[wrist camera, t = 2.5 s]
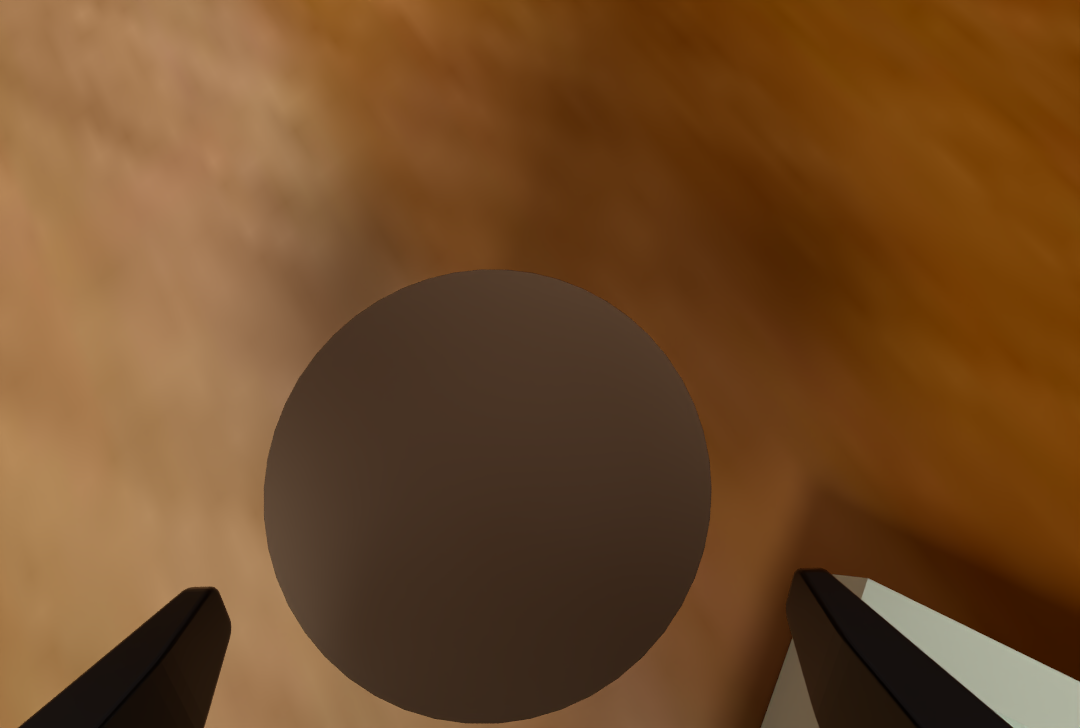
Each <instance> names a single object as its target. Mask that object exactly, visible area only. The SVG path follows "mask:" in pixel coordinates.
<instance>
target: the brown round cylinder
mask: <svg viewBox="0 0 1080 728" xmlns="http://www.w3.org/2000/svg"><path fill="white" fill-rule="evenodd" d="M710 507H711V476H710V462H709V456H708V451H707V446H706V441H705V436H704V431H703V429H702V426H701V423H700V420H699V417H698V414H697V411H696V408H695V405H694V403H693V401H692V399H691V397H690V395H689V393H688V391H687V389H686V387H685V385H684V383H683V380H682V379H681V377H680V376H679V374H678V373H677V371H676V370H675V368H674V366H673V365H672V363H671V362H670V360H669V359H668V357H667V356H666V355H665V354H664V352H663V351H662V350H661V349H660V348H659V347H658V345H657V344H656V343H655V342H654V341H653V340H652V338H651V337H650V336H649V335H648V334H647V333H646V332H645V331H644V330H643V329H641V328H640V327H639V326H638V325H637V324H636V323H635V322H634V321H633V320H632V319H630V318H629V317H628V316H627V315H625V314H624V313H622V312H621V311H620V310H618V309H617V308H615V307H614V306H612V305H611V304H610V303H608V302H607V301H605V300H603V299H601V298H599V297H597V296H595V295H594V294H592V293H590V292H588V291H586V290H584V289H582V288H579V287H577V286H574V285H572V284H569V283H566V282H564V281H561V280H559V279H555V278H551V277H547V276H543V275H539V274H535V273H528V272H520V271H512V270H473V271H465V272H456V273H451V274H447V275H442V276H438V277H434V278H430V279H427V280H424V281H421V282H418V283H416V284H413V285H410V286H408V287H405V288H402V289H400V290H398V291H396V292H394V293H393V294H391V295H389V296H387V297H385V298H383V299H381V300H379V301H377V302H376V303H374V304H373V305H371V306H370V307H368V308H367V309H365V310H364V311H362V312H361V313H359V314H358V315H356V316H355V317H354V318H353V319H352V320H350V321H349V322H348V323H347V324H346V325H345V326H344V327H342V328H341V329H340V330H339V331H338V332H337V333H335V334H334V335H333V336H332V338H331V339H330V340H329V341H328V342H327V343H326V344H325V345H324V346H323V347H322V349H321V350H320V351H319V352H318V353H317V354H316V355H315V357H314V358H313V359H312V361H311V362H310V364H309V365H308V366H307V368H306V369H305V371H304V372H303V373H302V375H301V376H300V378H299V379H298V381H297V383H296V385H295V387H294V389H293V390H292V392H291V394H290V396H289V398H288V400H287V401H286V403H285V406H284V408H283V411H282V413H281V416H280V419H279V421H278V424H277V426H276V429H275V432H274V436H273V440H272V443H271V447H270V451H269V455H268V460H267V468H266V476H265V484H264V521H265V528H266V535H267V543H268V549H269V553H270V556H271V560H272V563H273V567H274V571H275V574H276V578H277V580H278V582H279V585H280V587H281V589H282V592H283V594H284V596H285V598H286V601H287V603H288V605H289V607H290V609H291V610H292V612H293V614H294V615H295V617H296V619H297V620H298V622H299V624H300V625H301V627H302V629H303V630H304V632H305V633H306V634H307V636H308V637H309V638H310V639H311V640H312V642H313V643H314V644H315V645H316V647H317V648H318V649H319V650H320V651H321V653H322V654H323V655H324V656H325V657H326V658H327V659H328V660H329V661H330V662H331V663H332V664H334V665H335V666H336V667H337V668H338V669H339V670H340V671H341V672H342V673H343V674H345V675H346V676H347V677H348V678H349V679H351V680H352V681H354V682H355V683H357V684H358V685H360V686H361V687H363V688H364V689H366V690H367V691H369V692H370V693H372V694H373V695H375V696H377V697H379V698H381V699H383V700H385V701H387V702H389V703H391V704H393V705H396V706H398V707H400V708H402V709H404V710H408V711H411V712H414V713H417V714H421V715H424V716H427V717H431V718H434V719H440V720H447V721H454V722H460V723H504V722H511V721H518V720H525V719H531V718H534V717H538V716H541V715H544V714H548V713H551V712H555V711H558V710H561V709H564V708H566V707H568V706H570V705H572V704H574V703H576V702H579V701H581V700H583V699H585V698H587V697H589V696H591V695H593V694H595V693H596V692H598V691H599V690H601V689H602V688H604V687H605V686H607V685H608V684H610V683H612V682H613V681H615V680H616V679H618V678H619V677H620V676H621V675H622V674H624V673H625V672H626V671H627V670H628V669H629V668H631V667H632V666H633V665H634V664H635V663H636V662H637V661H639V660H640V659H641V658H642V657H643V656H644V655H645V654H646V653H647V651H648V650H649V649H650V648H651V647H652V646H653V645H654V643H655V642H656V641H657V640H658V639H659V638H660V637H661V635H662V634H663V633H664V632H665V630H666V629H667V627H668V626H669V624H670V623H671V621H672V619H673V618H674V616H675V615H676V613H677V612H678V610H679V609H680V607H681V606H682V604H683V601H684V599H685V597H686V595H687V593H688V591H689V589H690V587H691V585H692V583H693V581H694V579H695V576H696V573H697V570H698V566H699V563H700V560H701V557H702V554H703V551H704V548H705V542H706V537H707V532H708V526H709V521H710Z"/></svg>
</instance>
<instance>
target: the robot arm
mask: <svg viewBox="0 0 1080 728" xmlns="http://www.w3.org/2000/svg"><path fill="white" fill-rule="evenodd" d="M786 615H787V620H788V624H789V627H790V631H791V634H792V638H793V641H794V645H795V648H796V652H797V655H798V659H799V662H800V666H801V670H802V673H803V677H804V680H805V684H806V687H807V691H808V694H809V698H810V701H811V705H812V708H813V711H814V714H815V718H816V720H817V723H818V726H819V728H1013V727H1012V726H1011V725H1010V724H1009V723H1007V722H1006V721H1005V720H1004V719H1003V718H1001V717H1000V716H999V715H998V714H997V713H995V712H994V711H993V710H992V709H991V708H990V707H988V706H987V705H986V704H985V703H984V702H982V701H981V700H980V699H979V698H978V697H976V696H975V695H974V694H973V693H972V692H971V691H969V690H968V689H967V688H966V687H965V686H963V685H962V684H961V683H960V682H959V681H958V680H956V679H955V678H954V677H953V676H952V675H950V674H949V673H948V672H947V671H946V670H944V669H943V668H942V667H941V666H940V665H939V664H937V663H936V662H935V661H934V660H933V659H931V658H930V657H929V656H928V655H927V654H925V653H924V652H923V651H922V650H921V649H920V648H918V647H917V646H916V645H915V644H914V643H912V642H911V641H910V640H909V639H908V638H906V637H905V636H904V635H903V634H902V633H901V632H899V631H898V630H897V629H896V628H895V627H893V626H892V625H891V624H890V623H889V622H888V621H886V620H885V619H884V618H883V617H882V616H880V615H879V614H878V613H877V612H876V611H874V610H873V609H872V608H871V607H870V606H869V605H867V604H866V603H865V602H864V601H863V600H861V599H860V598H859V597H858V596H857V595H855V594H854V593H853V592H852V591H851V590H850V589H848V588H847V587H846V586H845V585H844V584H842V583H841V582H840V581H839V580H838V579H836V578H835V577H834V576H833V575H832V574H831V573H829V572H828V571H827V570H825V569H822V568H800V569H798V570H796V572H795V573H794V576H793V579H792V583H791V587H790V591H789V594H788V598H787V602H786ZM230 635H231V621H230V618H229V616H228V613H227V611H226V608H225V605H224V603H223V600H222V598H221V595H220V593H219V591H218V590H217V589H216V588H215V587H191V588H187V589H186V590H184V591H182V592H181V593H180V594H179V595H177V596H176V597H175V598H174V599H173V600H171V601H170V602H169V603H168V604H167V605H165V606H164V607H163V608H162V609H160V610H159V611H158V612H157V613H156V614H154V615H153V616H152V617H151V618H150V619H148V620H147V621H146V622H145V623H144V624H142V625H141V626H140V627H139V628H138V629H136V630H135V631H134V632H133V633H132V634H130V635H129V636H128V637H127V638H126V639H124V640H123V641H122V642H121V643H120V644H118V645H117V646H116V647H115V648H114V649H112V650H111V651H110V652H109V653H107V654H106V655H105V656H104V657H103V658H101V659H100V660H99V661H98V662H97V663H95V664H94V665H93V666H92V667H91V668H89V669H88V670H87V671H86V672H85V673H83V674H82V675H81V676H80V677H79V678H77V679H76V680H75V681H74V682H73V683H71V684H70V685H69V686H68V687H67V688H65V689H64V690H63V691H62V692H61V693H59V694H58V695H57V696H56V697H54V698H53V699H52V700H51V701H50V702H48V703H47V704H46V705H45V706H44V707H42V708H41V709H40V710H39V711H38V712H36V713H35V714H34V715H33V716H32V717H30V718H29V719H28V720H27V721H26V722H24V723H23V724H22V725H21V726H20V727H18V728H204V726H205V723H206V719H207V716H208V713H209V709H210V706H211V702H212V699H213V695H214V692H215V688H216V685H217V681H218V678H219V674H220V671H221V667H222V664H223V660H224V657H225V653H226V650H227V646H228V643H229V639H230Z"/></svg>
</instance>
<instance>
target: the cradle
mask: <svg viewBox="0 0 1080 728" xmlns="http://www.w3.org/2000/svg"><path fill="white" fill-rule="evenodd" d="M832 575H833V576H834V577H835V578H836V579H838V580H839V581H840V582H841V583H842V584H844V585H845V586H846V587H847V588H848V589H850V590H851V591H852V592H853V593H854V594H855V595H857V596H858V597H859V598H860V599H861V600H863V601H864V602H865V603H866V604H867V605H869V606H870V607H871V608H872V609H873V610H874V611H876V612H877V613H878V614H879V615H880V616H882V617H883V618H884V619H885V620H886V621H888V622H889V623H890V624H891V625H892V626H893V627H895V628H896V629H897V630H898V631H899V632H901V633H902V634H903V635H904V636H905V637H906V638H908V639H909V640H910V641H911V642H912V643H914V644H915V645H916V646H917V647H918V648H920V649H921V650H922V651H923V652H924V653H925V654H927V655H928V656H929V657H930V658H931V659H933V660H934V661H935V662H936V663H937V664H939V665H940V666H941V667H942V668H943V669H944V670H946V671H947V672H948V673H949V674H950V675H952V676H953V677H954V678H955V679H956V680H958V681H959V682H960V683H961V684H962V685H963V686H965V687H966V688H967V689H968V690H969V691H971V692H972V693H973V694H974V695H975V696H976V697H978V698H979V699H980V700H981V701H982V702H984V703H985V704H986V705H987V706H988V707H990V708H991V709H992V710H993V711H994V712H995V713H997V714H998V715H999V716H1000V717H1001V718H1003V719H1004V720H1005V721H1006V722H1007V723H1009V724H1010V725H1011V726H1012V727H1013V728H1080V682H1079V681H1077V680H1075V679H1073V678H1071V677H1069V676H1067V675H1065V674H1063V673H1061V672H1059V671H1056V670H1054V669H1052V668H1050V667H1048V666H1046V665H1044V664H1042V663H1040V662H1038V661H1036V660H1034V659H1032V658H1030V657H1028V656H1026V655H1024V654H1022V653H1020V652H1018V651H1016V650H1014V649H1012V648H1009V647H1007V646H1005V645H1003V644H1001V643H999V642H997V641H995V640H993V639H991V638H989V637H987V636H985V635H983V634H981V633H979V632H977V631H975V630H973V629H971V628H969V627H967V626H965V625H963V624H960V623H958V622H956V621H954V620H952V619H950V618H948V617H946V616H944V615H942V614H940V613H938V612H936V611H934V610H932V609H930V608H928V607H926V606H924V605H922V604H920V603H918V602H916V601H913V600H911V599H909V598H907V597H905V596H903V595H901V594H899V593H897V592H895V591H893V590H891V589H889V588H887V587H885V586H883V585H881V584H879V583H877V582H875V581H873V580H871V579H869V578H861V577H853V576H844V575H835V574H832ZM761 728H819V726H818V723H817V720H816V718H815V714H814V711H813V708H812V705H811V701H810V698H809V694H808V691H807V687H806V684H805V680H804V677H803V673H802V670H801V666H800V662H799V659H798V655H797V652H796V648H795V645H794V641H793V638H792V640H791V643H790V646H789V649H788V652H787V655H786V657H785V660H784V663H783V666H782V669H781V672H780V675H779V677H778V680H777V683H776V686H775V689H774V692H773V694H772V697H771V700H770V703H769V706H768V709H767V712H766V714H765V717H764V720H763V723H762V726H761Z"/></svg>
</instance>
